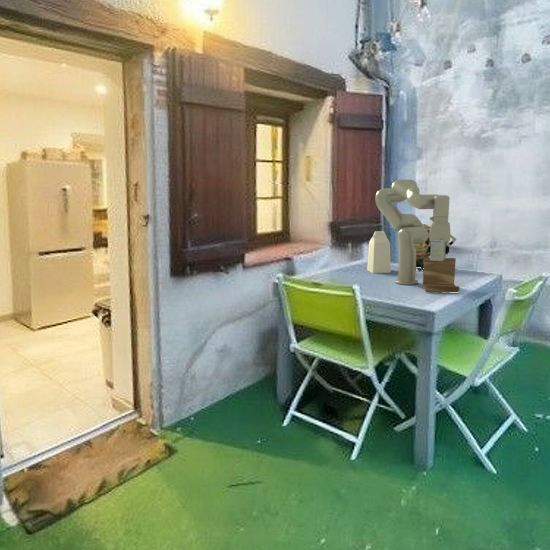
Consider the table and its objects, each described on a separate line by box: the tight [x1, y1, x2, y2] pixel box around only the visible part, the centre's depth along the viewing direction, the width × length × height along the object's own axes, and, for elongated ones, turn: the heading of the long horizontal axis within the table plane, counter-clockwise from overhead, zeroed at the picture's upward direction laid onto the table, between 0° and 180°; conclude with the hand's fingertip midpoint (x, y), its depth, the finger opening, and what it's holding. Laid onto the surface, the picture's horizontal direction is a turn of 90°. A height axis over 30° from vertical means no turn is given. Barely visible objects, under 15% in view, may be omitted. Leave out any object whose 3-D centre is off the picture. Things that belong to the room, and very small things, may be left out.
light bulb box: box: [429, 239, 447, 261], centre depth 241 cm, size 11×7×11 cm, turn 153°
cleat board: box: [422, 257, 460, 293], centre depth 245 cm, size 16×16×16 cm
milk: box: [366, 230, 392, 274], centre depth 302 cm, size 12×12×26 cm
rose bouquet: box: [413, 223, 430, 270], centre depth 309 cm, size 26×29×30 cm
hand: (438, 253), depth 241 cm, fingers closed on light bulb box, 7 cm apart
